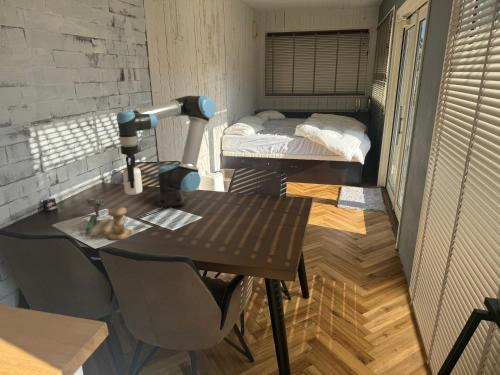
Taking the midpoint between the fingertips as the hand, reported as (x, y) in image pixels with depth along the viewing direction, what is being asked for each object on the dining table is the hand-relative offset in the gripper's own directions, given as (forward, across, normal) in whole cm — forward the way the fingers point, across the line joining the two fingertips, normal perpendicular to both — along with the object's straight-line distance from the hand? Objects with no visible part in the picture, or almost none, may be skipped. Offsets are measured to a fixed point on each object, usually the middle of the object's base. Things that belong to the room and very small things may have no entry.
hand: (133, 191), depth 168 cm
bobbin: (+19, +9, -8) cm, 22 cm away
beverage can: (+1, 0, 0) cm, 1 cm away
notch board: (+19, -2, -15) cm, 24 cm away
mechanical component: (+19, -19, -22) cm, 35 cm away
